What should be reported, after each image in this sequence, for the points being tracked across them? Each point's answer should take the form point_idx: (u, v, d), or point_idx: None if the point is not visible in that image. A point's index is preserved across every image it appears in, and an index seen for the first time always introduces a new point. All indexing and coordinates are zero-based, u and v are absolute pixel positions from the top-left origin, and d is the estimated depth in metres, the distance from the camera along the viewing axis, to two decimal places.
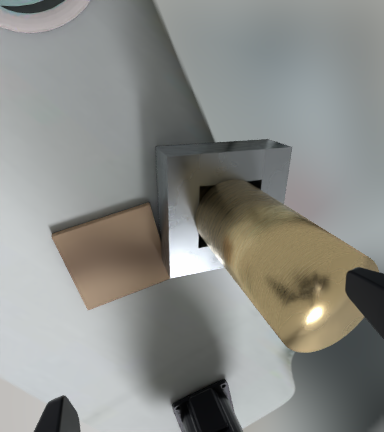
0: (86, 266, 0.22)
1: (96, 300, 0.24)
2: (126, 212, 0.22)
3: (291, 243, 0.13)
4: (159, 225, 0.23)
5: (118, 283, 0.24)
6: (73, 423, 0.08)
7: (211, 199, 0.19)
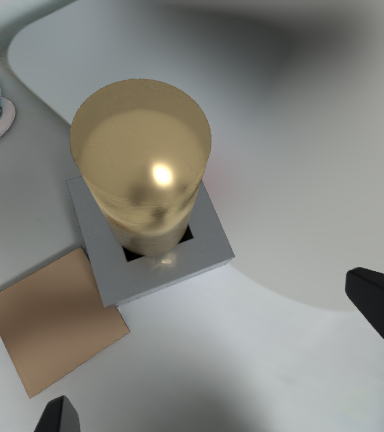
0: (22, 331, 0.20)
1: (39, 380, 0.19)
2: (58, 259, 0.22)
3: None
4: None
5: (63, 350, 0.20)
6: (73, 423, 0.08)
7: None
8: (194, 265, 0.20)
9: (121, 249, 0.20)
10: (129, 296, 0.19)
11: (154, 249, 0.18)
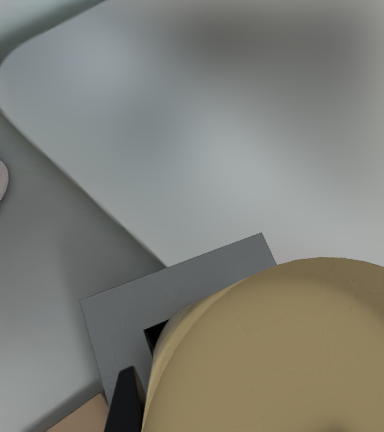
0: None
1: None
2: (66, 417, 0.14)
3: (184, 321, 0.06)
4: None
5: None
6: (142, 391, 0.08)
7: (157, 341, 0.12)
8: None
9: None
10: None
11: None
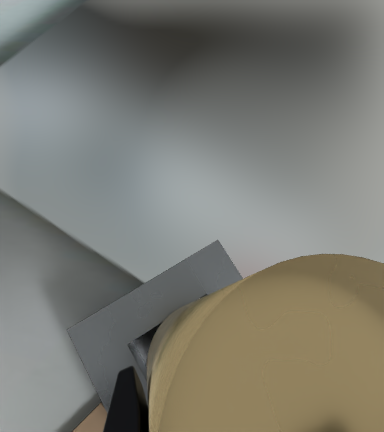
0: None
1: None
2: (74, 431, 0.16)
3: (188, 318, 0.06)
4: None
5: None
6: (142, 392, 0.08)
7: (152, 342, 0.12)
8: None
9: None
10: None
11: None
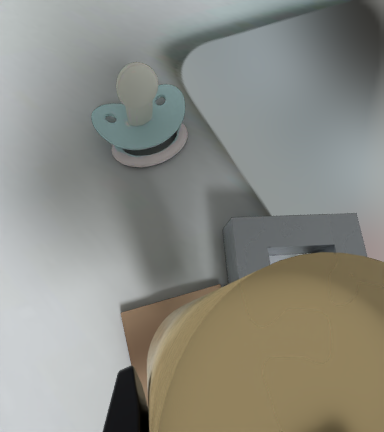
0: None
1: None
2: (196, 291, 0.21)
3: (189, 316, 0.06)
4: None
5: None
6: (142, 392, 0.08)
7: (152, 341, 0.12)
8: None
9: None
10: None
11: None
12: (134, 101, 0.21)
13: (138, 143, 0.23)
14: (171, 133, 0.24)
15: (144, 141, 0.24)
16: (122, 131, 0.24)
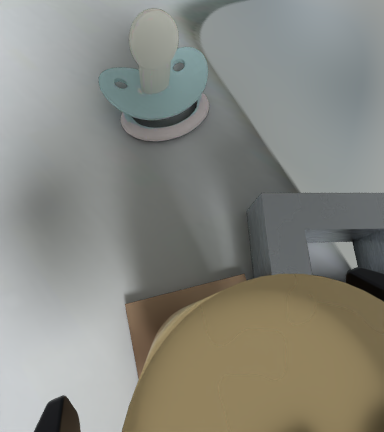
0: None
1: None
2: (215, 281, 0.17)
3: (167, 328, 0.06)
4: None
5: None
6: (73, 423, 0.08)
7: None
8: None
9: None
10: None
11: None
12: (150, 59, 0.18)
13: (152, 112, 0.20)
14: (191, 102, 0.20)
15: (159, 111, 0.20)
16: (134, 99, 0.20)
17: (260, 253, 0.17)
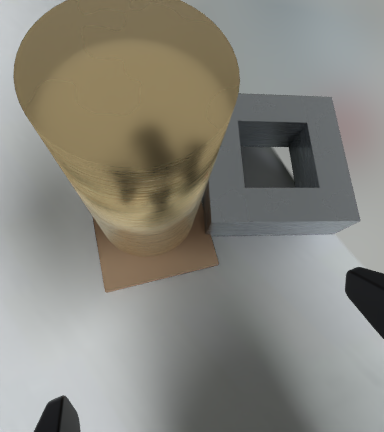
0: None
1: (118, 277, 0.18)
2: None
3: None
4: None
5: (149, 258, 0.19)
6: (73, 423, 0.08)
7: None
8: (314, 214, 0.18)
9: (242, 173, 0.18)
10: (239, 221, 0.17)
11: (153, 248, 0.14)
12: None
13: None
14: None
15: None
16: None
17: None
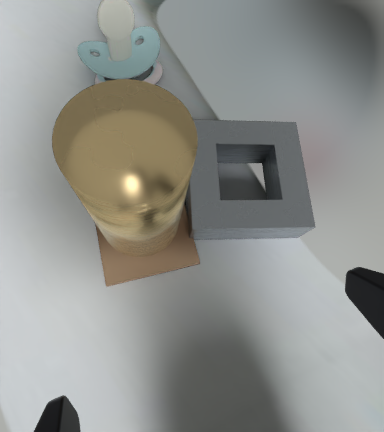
0: None
1: (117, 274, 0.22)
2: None
3: None
4: (187, 203, 0.25)
5: (142, 258, 0.22)
6: (73, 423, 0.08)
7: None
8: (277, 221, 0.22)
9: (218, 188, 0.22)
10: (215, 227, 0.21)
11: (144, 251, 0.18)
12: (113, 32, 0.25)
13: (118, 74, 0.27)
14: (147, 67, 0.27)
15: (123, 73, 0.27)
16: (104, 64, 0.27)
17: None
